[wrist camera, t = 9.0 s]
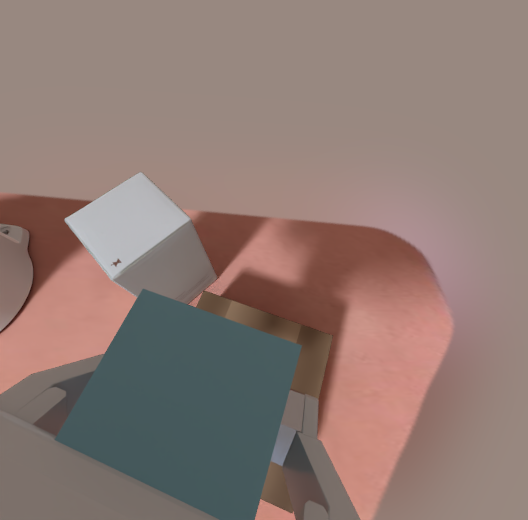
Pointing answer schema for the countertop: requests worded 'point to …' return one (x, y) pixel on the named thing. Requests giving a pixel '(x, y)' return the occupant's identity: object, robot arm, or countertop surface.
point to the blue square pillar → (187, 405)
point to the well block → (305, 374)
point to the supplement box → (144, 241)
